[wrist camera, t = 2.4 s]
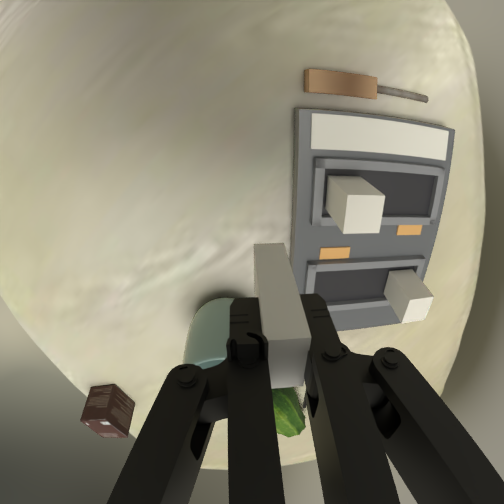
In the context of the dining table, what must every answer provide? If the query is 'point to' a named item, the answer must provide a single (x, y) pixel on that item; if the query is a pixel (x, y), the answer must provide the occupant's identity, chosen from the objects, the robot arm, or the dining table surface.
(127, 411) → the box
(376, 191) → the tab
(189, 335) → the cup
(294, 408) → the vegetable
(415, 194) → the switch board
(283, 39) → the dining table surface
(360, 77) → the screwdriver
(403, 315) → the tab
